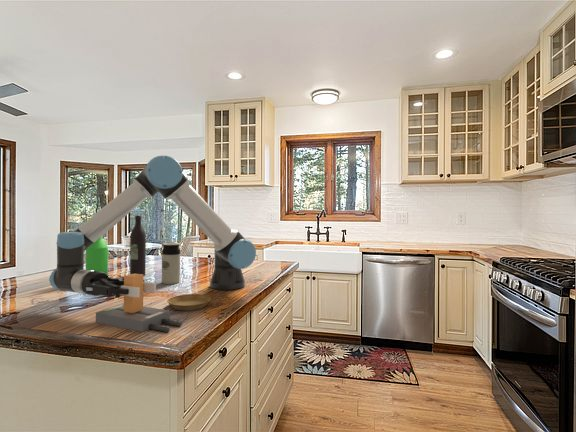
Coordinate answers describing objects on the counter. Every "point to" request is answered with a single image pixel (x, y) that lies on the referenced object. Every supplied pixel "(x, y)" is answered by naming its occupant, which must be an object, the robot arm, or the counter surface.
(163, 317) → the switch box
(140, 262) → the wine bottle
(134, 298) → the breaker handle
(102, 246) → the bottle
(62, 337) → the counter surface
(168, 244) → the travel mug
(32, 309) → the counter surface
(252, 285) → the counter surface
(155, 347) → the counter surface
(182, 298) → the plant saucer
